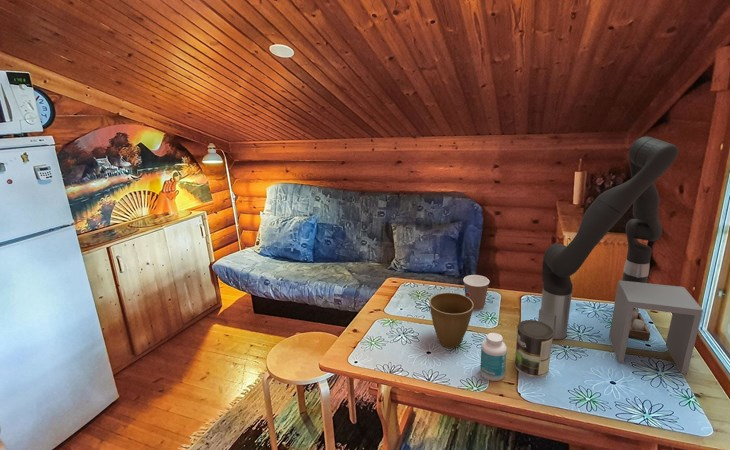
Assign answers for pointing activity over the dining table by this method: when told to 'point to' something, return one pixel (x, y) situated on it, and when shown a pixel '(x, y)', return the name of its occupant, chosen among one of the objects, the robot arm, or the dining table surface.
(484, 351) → the pill bottle
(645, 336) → the tray
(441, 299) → the plant pot
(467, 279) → the coffee cup
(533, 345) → the coffee can
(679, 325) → the grey hollow frame
